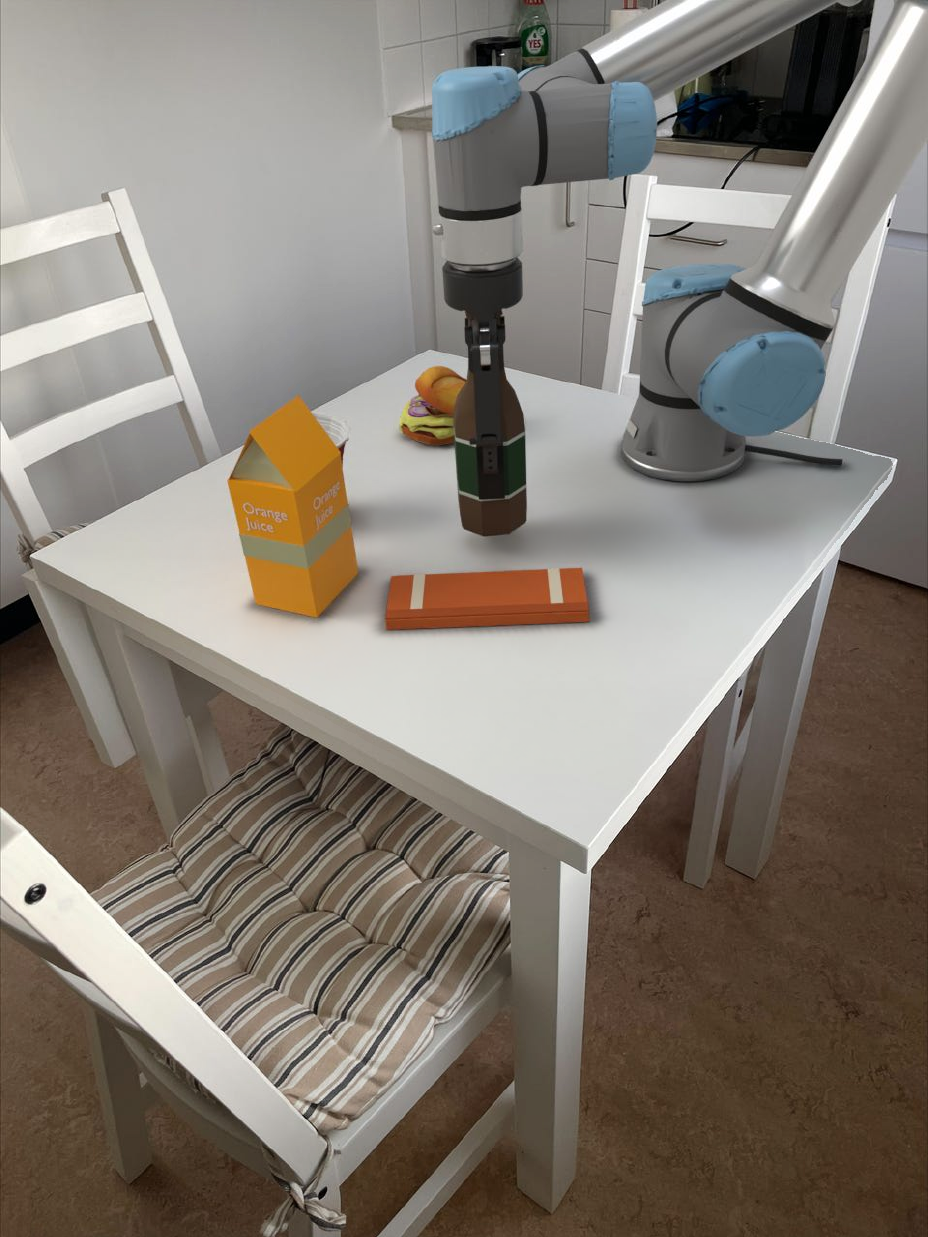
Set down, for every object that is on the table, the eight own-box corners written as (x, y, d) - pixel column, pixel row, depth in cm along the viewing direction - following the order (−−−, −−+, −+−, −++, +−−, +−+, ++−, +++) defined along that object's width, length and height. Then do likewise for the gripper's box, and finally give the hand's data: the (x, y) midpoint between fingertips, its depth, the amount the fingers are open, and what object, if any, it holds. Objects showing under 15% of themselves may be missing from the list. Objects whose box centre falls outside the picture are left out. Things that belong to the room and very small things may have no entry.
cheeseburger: (404, 416, 135) (415, 349, 129) (477, 433, 135) (491, 367, 129) (390, 446, 127) (401, 377, 121) (468, 465, 127) (483, 396, 121)
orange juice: (254, 604, 99) (213, 426, 87) (299, 560, 105) (266, 390, 94) (318, 618, 96) (285, 437, 84) (360, 573, 102) (334, 398, 91)
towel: (581, 576, 99) (582, 565, 98) (588, 622, 93) (589, 610, 92) (392, 584, 100) (391, 573, 99) (386, 630, 94) (384, 618, 93)
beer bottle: (478, 545, 100) (466, 321, 86) (445, 515, 106) (429, 299, 92) (541, 525, 103) (539, 304, 89) (506, 496, 109) (498, 284, 95)
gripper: (445, 233, 97) (458, 439, 110) (437, 295, 80) (454, 528, 94) (518, 229, 96) (523, 436, 110) (526, 290, 80) (530, 525, 93)
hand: (491, 478), depth 102 cm, fingers closed on beer bottle, 7 cm apart
